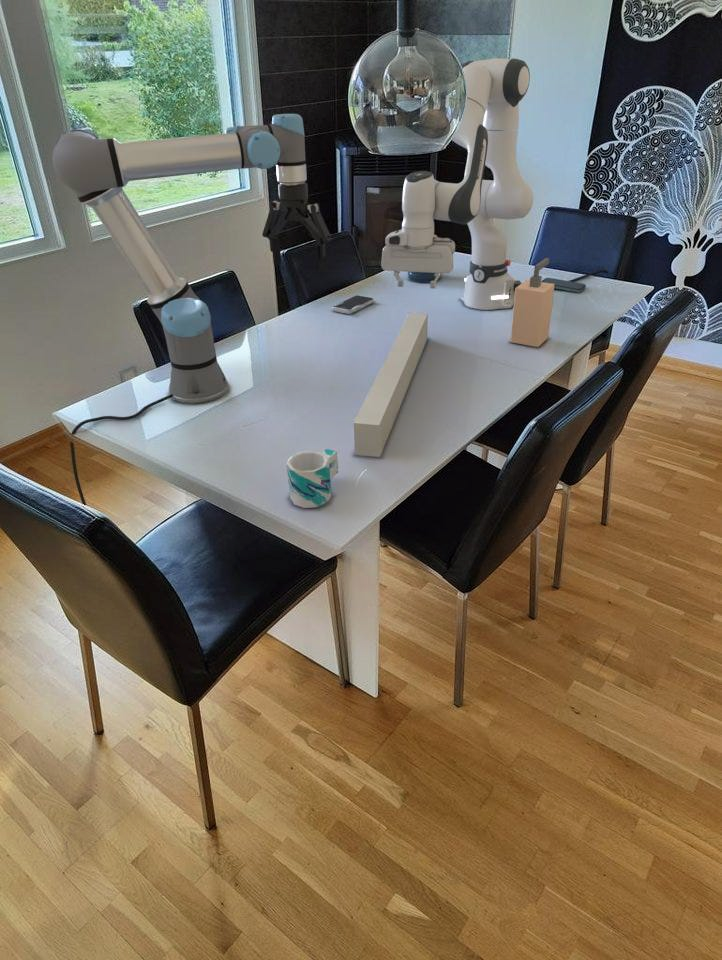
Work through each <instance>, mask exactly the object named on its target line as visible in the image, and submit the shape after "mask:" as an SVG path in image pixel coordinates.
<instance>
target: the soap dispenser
mask: <svg viewBox="0 0 722 960" xmlns="http://www.w3.org/2000/svg"><path fill="white" fill-rule="evenodd" d="M549 264H550V258H549V257H545V258H544V259H542V260H541V261H539V262H537V264H535V265H534V269H533V275H532V276H531V277H530V278H529V280H528V279H526V280H524V281H523V282H521V283H522V284H520V285H519V286H518V287H516V288H515V298H514V305H513V309H512V321H511V332H510V343H511V344H512V343H513V344H518V345H524V346H529V347H533V348H539V347H540V346H541V345H542V344H543V343H544V342H545V341H546V340H547V339H549V334H550V325H551V316H552V307H553V301H554V300H553V299H554V292H555V288H554V285H555V284H551V283H544V282H541V281H542V279H543V278H542V275H540V271H541V270H542V269H544V268H545V267H546V266H547V265H549Z"/></svg>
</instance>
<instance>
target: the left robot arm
mask: <svg viewBox="0 0 722 960" xmlns="http://www.w3.org/2000/svg"><path fill="white" fill-rule="evenodd" d="M305 135H306V134H305V128H304V121H303V117H302V116H301V115H300V114H298V113H280V114H278V113H277V114H274V115H273V116H272V121H271V123H268V124H261V125H260V124H259V125H258V124H257V125H236V126H229V127H226V129H225V130H224V133H216V134H205V135H204V134H203V135H194V136H193V135H192V136H184V137H183V136H182V137H171V138H161V139H149V140H139V141H137V140H136V141H127V142H120V141H119V140H117V139H116V138H115V137H114V138H113V137H112V138H99V137H98V135H95V134H94V133H92V132H90V131H88V130H85V129H71V130H69V131H66V132H64V133H62V135H60V136H59V137H58V139H57V140H56V142H55V144H54V147H53V151H52V165H53V169H54V172H55V174H56V175H57V177H58V179H59V180H60V182H62V183H63V184H64V185H65V186H67V187H68V188H70V189H71V190H72V192H73V193H74V195H75V196H76V198H77V199H78V201H79V202H80V205H81V204H82V205H84V206H88V207H90V208H91V209H92V210H93V212H94V214H95V215H96V217H97V218H98V220H99V221H100V222H101V224H102V226H103V227H104V228H105V230H106V231H107V233H108V235H109V236H110V237H111V239H112V241H113V242H114V244H115V245H116V246H117V248H118V250H119V251H120V252H121V254H122V256H123V257H124V259H125V260H126V261H127V263H128V265H129V266H130V268H131V269H132V271H133V273H134V274H135V275H136V277H137V279H138V280H139V282H141V284H142V287H144V289H145V290H146V292H147V293H148V296H147V300H146V301H147V304H148V305H149V307H150V308H151V310H152V311H153V313H154V314H155V316H156V317H157V319H158V320H159V322H160V324H161V326H162V330H163V333H164V337H165V341H166V345H167V352H168V356H169V361H170V367H171V369H170V370H171V371H170V377H169V386H168V393H169V395H166V396H164V397H162V398H159V399H157V400H155V401H153V402H150V403H149V404H147V405H145V406H143V407H142V408H141V409H140V410H139V411H138V412H136V413H135V414H132V415H129V416H128V415H127V416H117V415H116V416H115V415H103V416H97V417H92V418H88V419H85V420H82V421H81V422H79V423H78V424H77V425H75V427H74V428H73V429H72V431H71V433H70V435H72V436H73V435H75V434H76V433H77V432H78V430H79V429H80V428H81V427H82V426H84V425H86V424H88V423H93V422H98V421H102V420H103V421H104V420H116V421H128V420H133V419H135V418H138V417H139V416H141V415H142V414H143V413H144V412H146V411H147V409H150V408H151V407H153V406H156V405H158V404H161V403H162V402H165V401H167V400H169V399H171V400H173V401H175V402H177V403H180V404H188V405H189V404H190V405H196V404H197V405H198V404H204V403H208V402H212V401H214V400H217V399H219V398H221V397H223V396H224V395H225V394H227V392H228V391H229V383H228V379H227V378H226V375H225V374H224V372H223V370H222V368H221V366H220V363H219V362H218V358H217V352H216V346H215V340H214V333H213V328H212V322H211V321H212V316H211V312H210V309H209V307H208V305H207V304H206V303H205V302H204V301H202V300H200V298H199V296H198V295H196V294H195V292H194V291H193V289H192V287H191V286H190V284H189V282H188V281H187V280H186V279H185V278H184V277H179V276H177V274H176V273H175V271H174V269H173V268H172V266H171V264H170V263H169V261H168V260H167V258H166V256H165V255H164V254H163V251H162V250H161V248H160V247H159V245H158V244H157V242H156V240H155V239H154V237H153V236H152V234H151V232H150V231H149V229H148V228H147V226H146V224H145V223H144V221H143V219H142V218H141V216H140V215H139V213H138V212H137V210H136V208H135V207H134V205H133V204H132V202H131V200H130V199H129V197H128V195H127V194H126V192H125V191H124V189H123V187H125V188H126V186H127V185H128V183H129V182H132V181H133V182H134V181H143V180H150V179H152V180H153V179H161V178H169V177H170V178H171V177H177V176H187V175H195V174H205V173H213V172H223V171H224V172H225V171H231V170H243V169H244V170H245V169H252V168H253V169H254V168H256V169H260V170H267V169H271V168H272V167H274V166H275V167H276V168H275V169H276V180H277V183H278V185H277V190H278V198H279V201H278V200H277V199H276V200H273V201H270V202H269V212H268V215H267V218H266V221H265V224H264V228H263V231H262V233H261V235H262V237H263V238H266V239H268V241H269V250H270V252H271V253H272V259H273V260H272V261H273V266H279V265H280V264H282V253H281V252H282V251H281V243H280V242H281V241H280V238H278V236H279V234H280V233H281V231H282V230H283V228H284V226H285V225H286V224H287V222H296V223H299V222H300V223H301V224H302V225H303V226H304V227H305V228H306V230H307V231H308V232H309V234H310V236H312V238H313V240H314V241H315V242H316V244H314V251H315V252H314V253H315V267H316V269H315V270H316V271H321V270H322V269H324V268H325V262H324V258H325V257H326V255H327V251H326V244H328V243H329V242H332V240H333V239H332V236H331V233H330V231H329V229H328V227H327V224H326V222H325V220H324V218H323V215H322V213H321V209H320V204H319V203H318V202H316V203H313V204H309V202H308V199H309V188H308V183H307V182H306V181H307V179H308V178H307V177H308V176H307V174H308V173H307V161H306V145H305V144H306V143H305V141H306V140H305ZM279 210H280V212H281V214H280V216H279V218H278V220H277V221H276V219H277V216H278V213H279ZM308 212H309V213H310V214H311V215H310V214H309V213H308ZM312 219H313V220H312ZM275 223H276V224H275ZM69 446H70V455H71V456H70V457H71V464H72V470H73V471H72V472H73V474H74V480H75V485H76V488H77V492H78V494H79V498H80V500H81V504H82V505H83V504H84V505H87V503H86V499H85V497H84V493H83V490H82V486H81V484H80V479H79V474H78V469H77V462H76V451H75V444H74V442H72V441H69Z"/></svg>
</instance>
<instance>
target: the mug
mask: <svg viewBox="0 0 722 960" xmlns="http://www.w3.org/2000/svg"><path fill="white" fill-rule="evenodd" d="M338 460H339V459H338V451H336V450H333V449H329V448H325V450H323V451H322V452H321V451H320V452H319V451H317V450H306V451H305V450H304V451H303V450H302V451H299V452H297V453H295V454H293V455H290V456H289V458H288V460H287V461H286V470H287V472H286V473H287V479H288V488H289V497H290V500H291V501H292V504H293V505H295V506H296V507H297V506H298V507H300V508H303V509H311V508H314V509H315V508H319V507H322V506H323V505H325V504H327V503H329V501H330V499H331V498H332V484H331V479H332V478H334V477H335V476H336V475H338V473H339V461H338Z"/></svg>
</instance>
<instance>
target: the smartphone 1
mask: <svg viewBox="0 0 722 960" xmlns="http://www.w3.org/2000/svg"><path fill="white" fill-rule="evenodd" d="M373 303H374V298H373V297H370V296H369V297H368V296H363V295H354V296H352V297H350V298H348V299H345V300H343V301H341V302H339V303H337V304H335V305H333V306H331V307H332V311H333V312H336V313H342V314H348V315H351V314H353V313H355V312H357V311H359V310H362V309H364V307H367V306H369V305H372V304H373Z"/></svg>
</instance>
